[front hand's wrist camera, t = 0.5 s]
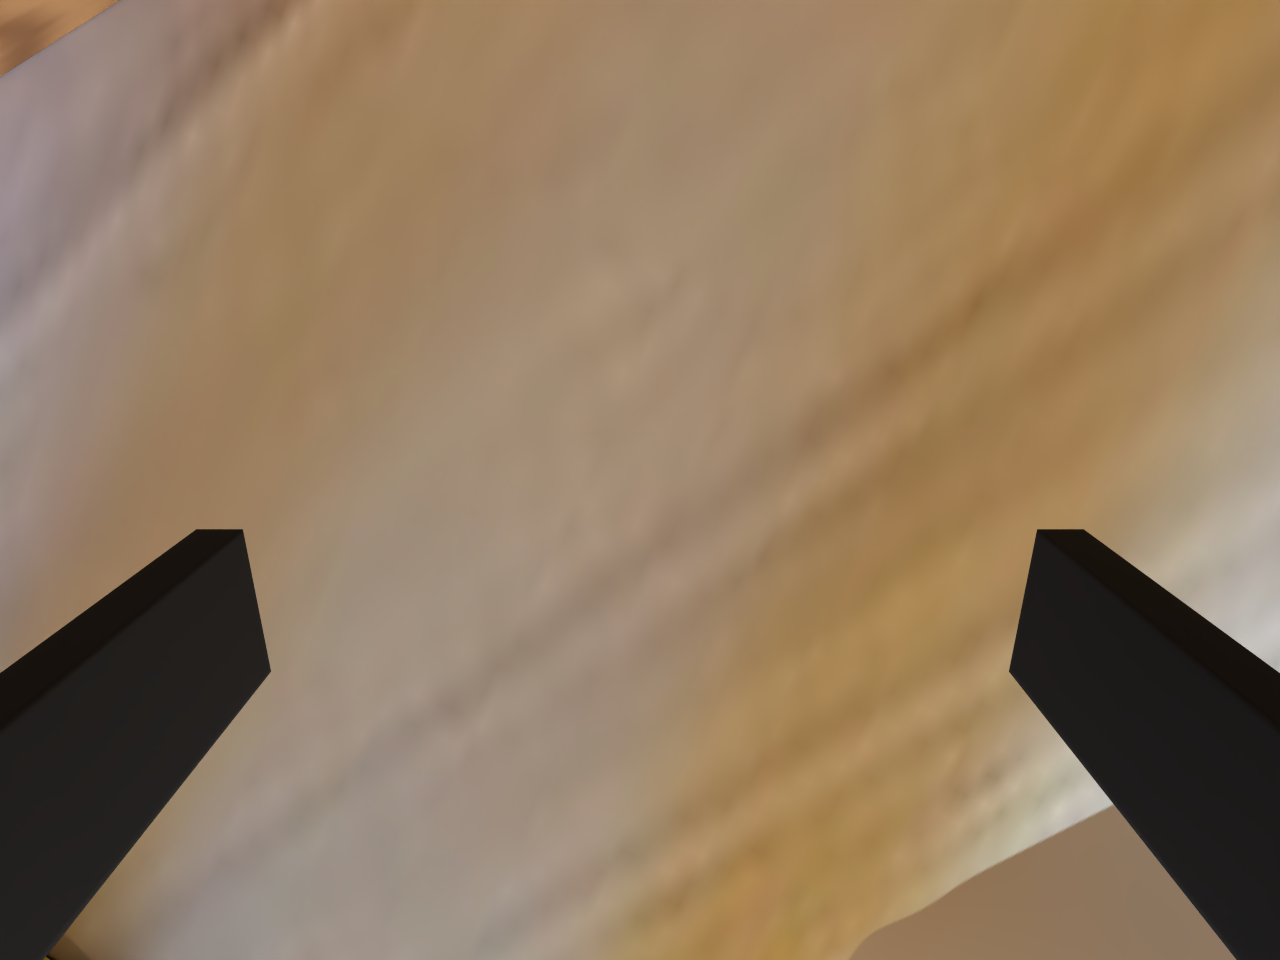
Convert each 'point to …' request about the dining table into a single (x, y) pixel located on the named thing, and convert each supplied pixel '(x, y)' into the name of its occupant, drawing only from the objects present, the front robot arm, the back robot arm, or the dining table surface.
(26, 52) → the beam
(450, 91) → the dining table surface
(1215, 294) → the dining table surface
